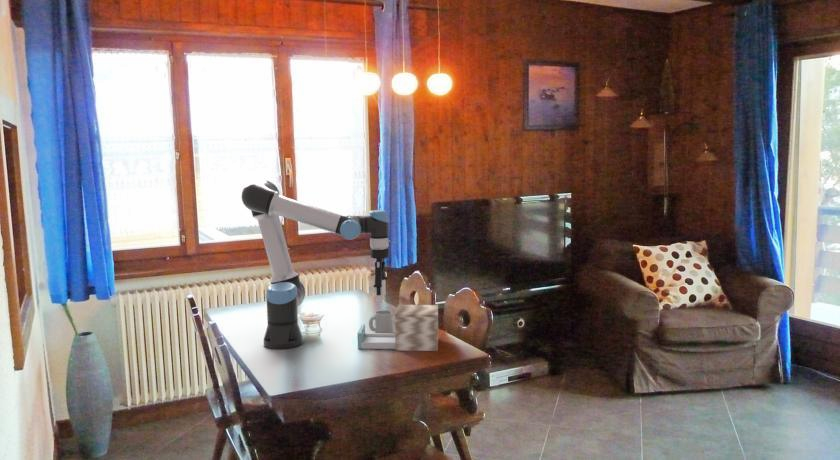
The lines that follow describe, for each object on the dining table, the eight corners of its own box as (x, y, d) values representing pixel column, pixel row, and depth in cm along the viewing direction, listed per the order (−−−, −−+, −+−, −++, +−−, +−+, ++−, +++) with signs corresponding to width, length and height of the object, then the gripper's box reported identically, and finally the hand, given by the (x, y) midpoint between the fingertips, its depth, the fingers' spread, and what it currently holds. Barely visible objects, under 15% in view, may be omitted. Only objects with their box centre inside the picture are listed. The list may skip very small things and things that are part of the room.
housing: (395, 350, 247) (395, 314, 245) (398, 338, 262) (398, 304, 260) (437, 350, 246) (437, 314, 244) (438, 339, 261) (438, 305, 259)
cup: (394, 334, 268) (394, 313, 267) (371, 337, 264) (370, 315, 263) (389, 330, 275) (389, 309, 273) (366, 332, 271) (366, 311, 270)
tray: (357, 348, 248) (357, 333, 248) (362, 338, 261) (361, 324, 261) (407, 349, 248) (406, 333, 247) (409, 339, 261) (408, 324, 260)
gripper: (385, 252, 253) (387, 306, 255) (391, 243, 277) (392, 292, 280) (366, 252, 253) (368, 306, 255) (373, 243, 278) (375, 292, 280)
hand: (380, 299), depth 268 cm, fingers open, 13 cm apart
